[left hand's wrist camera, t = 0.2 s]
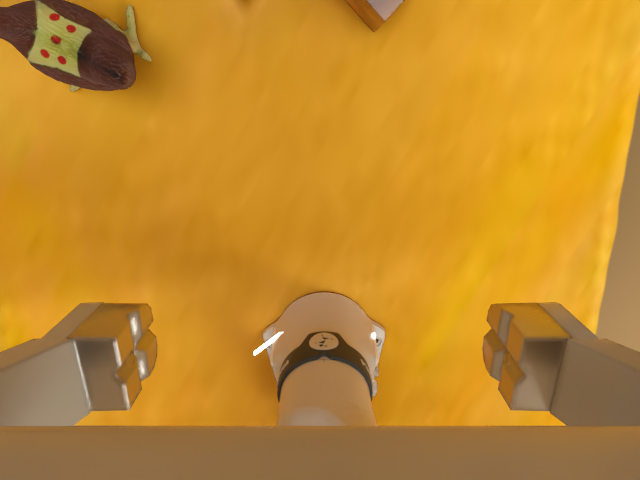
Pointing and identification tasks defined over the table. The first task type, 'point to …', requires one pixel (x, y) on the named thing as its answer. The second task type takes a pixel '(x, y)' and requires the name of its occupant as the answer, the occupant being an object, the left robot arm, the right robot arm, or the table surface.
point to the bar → (374, 10)
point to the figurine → (73, 43)
